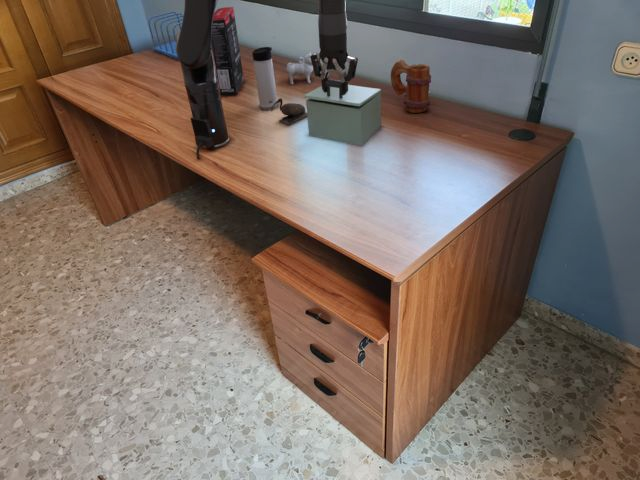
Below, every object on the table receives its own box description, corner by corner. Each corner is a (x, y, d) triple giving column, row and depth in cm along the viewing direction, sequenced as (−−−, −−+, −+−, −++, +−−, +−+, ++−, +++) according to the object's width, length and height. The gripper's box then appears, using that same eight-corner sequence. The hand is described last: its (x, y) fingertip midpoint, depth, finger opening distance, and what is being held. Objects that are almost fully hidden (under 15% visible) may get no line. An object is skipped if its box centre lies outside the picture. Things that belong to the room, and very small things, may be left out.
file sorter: (153, 51, 232) (144, 17, 223) (184, 42, 241) (177, 9, 232) (180, 60, 217) (171, 25, 208) (211, 51, 226) (204, 16, 217)
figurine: (278, 130, 152) (275, 104, 146) (269, 127, 154) (265, 101, 149) (309, 116, 159) (307, 90, 154) (300, 112, 162) (298, 87, 156)
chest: (361, 145, 140) (360, 109, 133) (309, 135, 147) (305, 100, 140) (380, 127, 149) (381, 92, 142) (330, 118, 156) (328, 84, 150)
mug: (435, 109, 156) (439, 62, 147) (421, 117, 152) (424, 70, 143) (398, 99, 165) (400, 55, 156) (384, 107, 160) (385, 62, 151)
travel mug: (276, 110, 164) (268, 50, 152) (257, 110, 166) (248, 51, 153) (280, 103, 169) (273, 45, 157) (263, 103, 171) (254, 45, 158)
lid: (359, 106, 131) (359, 86, 128) (304, 97, 139) (303, 78, 136) (381, 91, 142) (382, 72, 139) (328, 84, 149) (328, 66, 146)
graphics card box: (228, 81, 191) (215, 7, 175) (245, 80, 191) (233, 6, 174) (220, 97, 178) (204, 19, 161) (238, 96, 177) (225, 17, 161)
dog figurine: (320, 82, 184) (319, 53, 177) (287, 85, 183) (284, 56, 177) (319, 77, 188) (317, 49, 181) (287, 80, 187) (284, 52, 181)
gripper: (302, 31, 126) (306, 94, 136) (350, 36, 120) (351, 101, 130) (316, 24, 131) (320, 85, 141) (363, 28, 125) (363, 92, 135)
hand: (335, 92), depth 136 cm, fingers closed on lid, 5 cm apart
